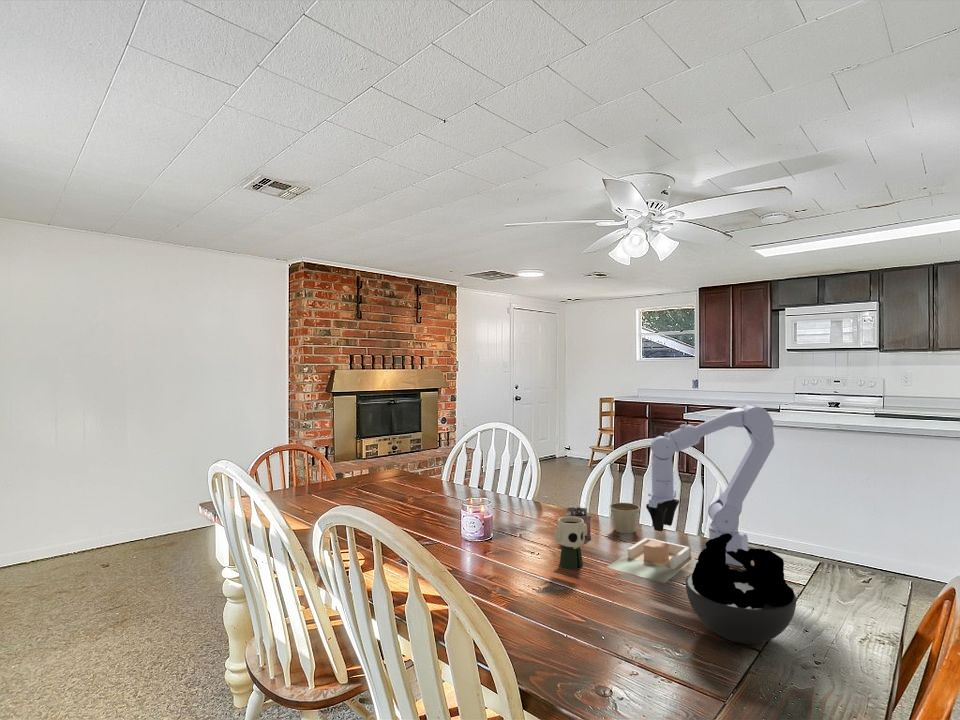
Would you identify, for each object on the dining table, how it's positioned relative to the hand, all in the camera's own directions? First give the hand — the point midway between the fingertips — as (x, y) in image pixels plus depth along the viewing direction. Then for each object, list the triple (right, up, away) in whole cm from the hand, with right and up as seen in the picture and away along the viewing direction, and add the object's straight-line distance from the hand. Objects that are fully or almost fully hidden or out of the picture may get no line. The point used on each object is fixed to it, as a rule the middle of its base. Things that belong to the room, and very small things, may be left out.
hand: (663, 527), depth 152 cm
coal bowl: (0, -9, -44) cm, 45 cm away
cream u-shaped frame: (-2, -7, -2) cm, 8 cm away
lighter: (-21, -9, +17) cm, 28 cm away
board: (-5, -9, -6) cm, 12 cm away
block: (-3, -7, -4) cm, 9 cm away
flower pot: (-5, -9, +22) cm, 24 cm away
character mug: (-27, -9, -7) cm, 29 cm away
